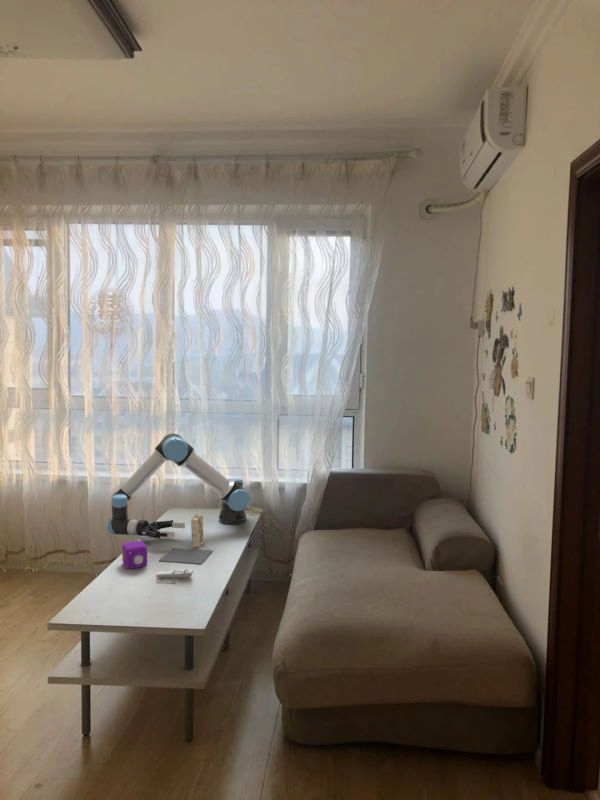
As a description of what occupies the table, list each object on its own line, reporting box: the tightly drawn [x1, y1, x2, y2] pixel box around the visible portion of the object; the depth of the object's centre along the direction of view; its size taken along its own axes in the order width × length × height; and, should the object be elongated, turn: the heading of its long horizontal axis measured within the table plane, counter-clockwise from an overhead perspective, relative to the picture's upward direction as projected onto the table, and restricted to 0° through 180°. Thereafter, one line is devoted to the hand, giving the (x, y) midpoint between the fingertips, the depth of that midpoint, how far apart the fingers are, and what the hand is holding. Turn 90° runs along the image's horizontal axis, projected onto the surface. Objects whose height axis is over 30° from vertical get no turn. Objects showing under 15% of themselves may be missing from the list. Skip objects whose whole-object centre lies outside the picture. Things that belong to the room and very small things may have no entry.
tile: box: [190, 513, 204, 548], centre depth 281 cm, size 8×3×14 cm, turn 170°
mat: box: [158, 547, 214, 565], centre depth 267 cm, size 16×20×1 cm
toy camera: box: [121, 539, 148, 569], centre depth 256 cm, size 11×14×10 cm
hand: (179, 530), depth 283 cm, fingers open, 13 cm apart
